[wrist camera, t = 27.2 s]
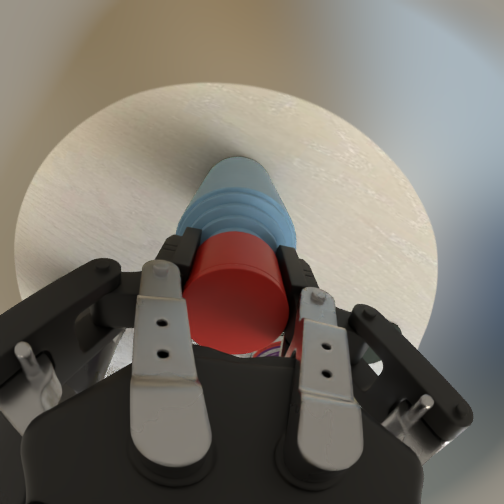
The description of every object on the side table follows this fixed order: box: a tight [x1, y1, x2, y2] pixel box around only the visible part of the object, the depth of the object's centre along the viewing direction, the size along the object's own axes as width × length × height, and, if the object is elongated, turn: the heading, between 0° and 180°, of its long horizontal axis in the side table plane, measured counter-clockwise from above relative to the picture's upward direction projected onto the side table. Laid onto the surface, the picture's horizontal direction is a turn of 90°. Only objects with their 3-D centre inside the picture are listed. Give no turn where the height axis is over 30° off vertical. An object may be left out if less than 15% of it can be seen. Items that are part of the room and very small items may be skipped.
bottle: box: [176, 157, 296, 254], centre depth 18 cm, size 6×6×17 cm
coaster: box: [362, 323, 402, 364], centre depth 36 cm, size 8×8×1 cm
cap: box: [182, 231, 289, 354], centre depth 11 cm, size 4×4×3 cm
